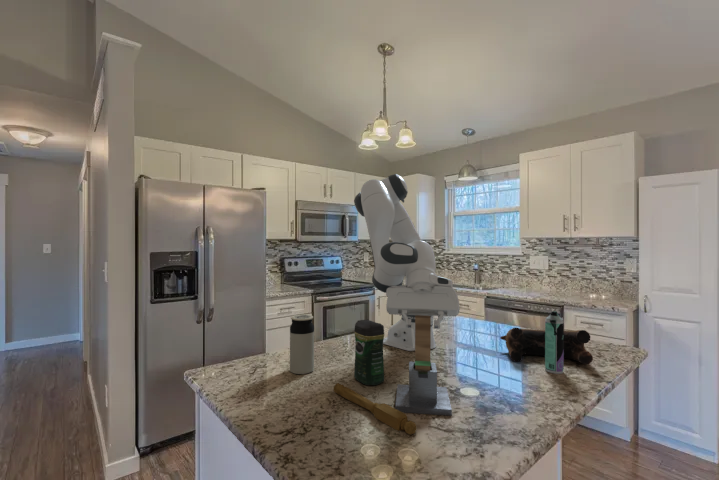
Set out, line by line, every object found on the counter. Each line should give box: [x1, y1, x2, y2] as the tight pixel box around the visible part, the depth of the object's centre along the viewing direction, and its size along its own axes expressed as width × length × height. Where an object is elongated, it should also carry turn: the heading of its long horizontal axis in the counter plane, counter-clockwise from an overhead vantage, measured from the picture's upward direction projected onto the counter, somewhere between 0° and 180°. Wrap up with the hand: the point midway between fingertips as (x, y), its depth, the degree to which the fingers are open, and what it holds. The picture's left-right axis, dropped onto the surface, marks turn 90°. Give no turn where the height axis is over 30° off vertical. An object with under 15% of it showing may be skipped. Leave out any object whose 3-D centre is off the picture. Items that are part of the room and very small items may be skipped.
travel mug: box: [289, 314, 315, 375], centre depth 122 cm, size 8×8×18 cm
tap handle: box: [333, 382, 417, 436], centre depth 93 cm, size 3×3×30 cm
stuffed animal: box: [499, 327, 594, 365], centre depth 140 cm, size 13×31×25 cm
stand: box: [394, 361, 453, 417], centre depth 99 cm, size 14×14×10 cm
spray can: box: [544, 310, 565, 375], centre depth 122 cm, size 6×6×20 cm
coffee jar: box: [353, 319, 385, 386], centre depth 114 cm, size 10×8×19 cm
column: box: [414, 315, 432, 370], centre depth 99 cm, size 4×4×15 cm
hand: (422, 327), depth 98 cm, fingers open, 6 cm apart
